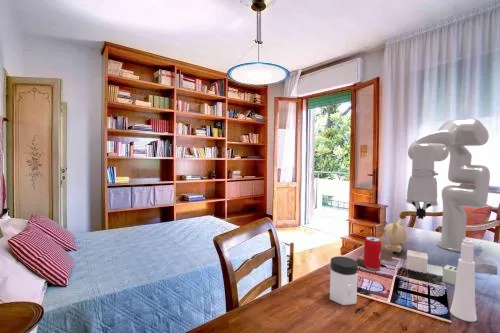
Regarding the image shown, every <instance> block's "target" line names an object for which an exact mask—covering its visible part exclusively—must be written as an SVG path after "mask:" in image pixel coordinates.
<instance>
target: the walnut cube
mask: <svg viewBox="0 0 500 333" xmlns="http://www.w3.org/2000/svg"><path fill="white" fill-rule="evenodd" d="M393 255H394V254H393V249H392V246H386V245H384V244H381V260H382V259H385V260H384V261H388V260H392V261H393Z"/></svg>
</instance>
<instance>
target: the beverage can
mask: <svg viewBox="0 0 500 333" xmlns="http://www.w3.org/2000/svg"><path fill="white" fill-rule="evenodd" d="M381 245H382V241H381V239H380V238H379V237H376V236H366V237H365V240H364V246H363V247H364V249H363V266H364V267H365V268H366V269H369V270H373V271H378V270H380V269H381V266H382V265H381V262H382V259H381Z"/></svg>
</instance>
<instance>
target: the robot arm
mask: <svg viewBox="0 0 500 333" xmlns="http://www.w3.org/2000/svg"><path fill="white" fill-rule="evenodd" d="M489 138H490V137H489V131H488V130H487V127H486V126H485V125H484V123H482V122H481V121H480V120H479V119H476V118H463V119H452V120H447V121H446V122H444V123H443V124H442V125H441V126H440V127H439V128H438V129H437V130H436V131H433V132H431V133H428V134H426V135H423V136H420V137H418V138H417V139H415V140H414V141H413V142H412V143H411V144H410V145H409V147H408V150H407V155H408V158H409V159H410V160H412V161H411V162H412V163H411V176H409V178H408V183H407V184H408V185H407V193H406V201H405V202H406V203H408V204H410V205H412V206H414V207H415V209H416V217H417V219H418V220H423V219H424V218H426V211H427V209H428V208H429V207H435V206H438V183H437V178H436V177H435V176H438V175H439V172H438V171H436V170H435V162H443V161H445V160H446V159H447V158H448V156H449V165H448V171H447V179H448V181H450V182H451V183H454V184H462V185H446V186H444V187H443V188H442V190H441V200H442V219H441V220H442V221H441V222H442V223H441V236H440V241H438V242H437V243H436V244H437V245H436V246H438V247H439V248H441V249H444V250H446V251H449V252H450V251H451V252H456V253H461V244H462V243H463V240H466V234H467V220H468V219H467V218H468V216H467V213H466V211H465V209H464V208H463V207H469V208H470V207H471V208H477V209H479V208H480V209H481V208H484V207H486V205H487V203H488V198H489V188H490V180H491V173H490V169H489V168H488V167H487V166H485V165H480V164H477V165H476V164H472V156H473V155H472V153H471V152H470V151H469V149H468V148H467V146H468V147H469V146H472V147H474V146H479V147H480V146H484V145H485V144H487V142H488V141H489ZM463 184H464V185H465V186H464V185H463ZM466 185H474V186H475V187H474V186H473V187H472V186H466ZM420 203H423V204H422V207H421V204H420Z"/></svg>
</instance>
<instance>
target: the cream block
mask: <svg viewBox="0 0 500 333" xmlns="http://www.w3.org/2000/svg"><path fill="white" fill-rule="evenodd" d="M428 260H429V256H428V253H427V252H420V251H415V250H410V249H407V251H406V265H405V266H406V268H405V269H406V270H408V269H411V270H410V271H412V270H415V271H414V272H417V271H418V273H421V272H423V273H422V274H426V273H427V274H428Z"/></svg>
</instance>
